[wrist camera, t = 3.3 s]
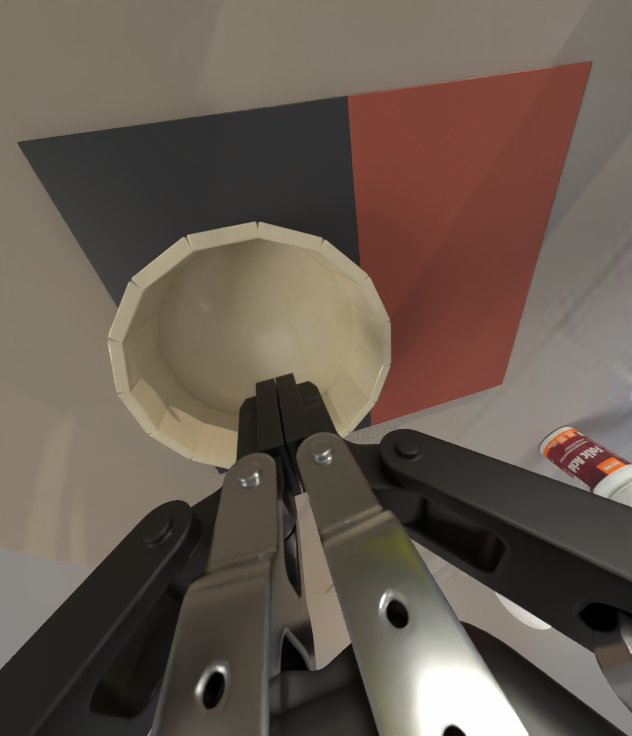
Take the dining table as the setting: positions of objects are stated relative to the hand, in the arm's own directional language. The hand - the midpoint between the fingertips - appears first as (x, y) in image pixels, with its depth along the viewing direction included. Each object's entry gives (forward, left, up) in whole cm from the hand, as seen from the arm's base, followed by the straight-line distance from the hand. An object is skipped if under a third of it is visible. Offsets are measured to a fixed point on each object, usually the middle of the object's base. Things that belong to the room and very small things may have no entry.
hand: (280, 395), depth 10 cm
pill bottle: (+31, -23, -7) cm, 39 cm away
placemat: (+6, 0, -6) cm, 9 cm away
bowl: (0, 0, -6) cm, 6 cm away
